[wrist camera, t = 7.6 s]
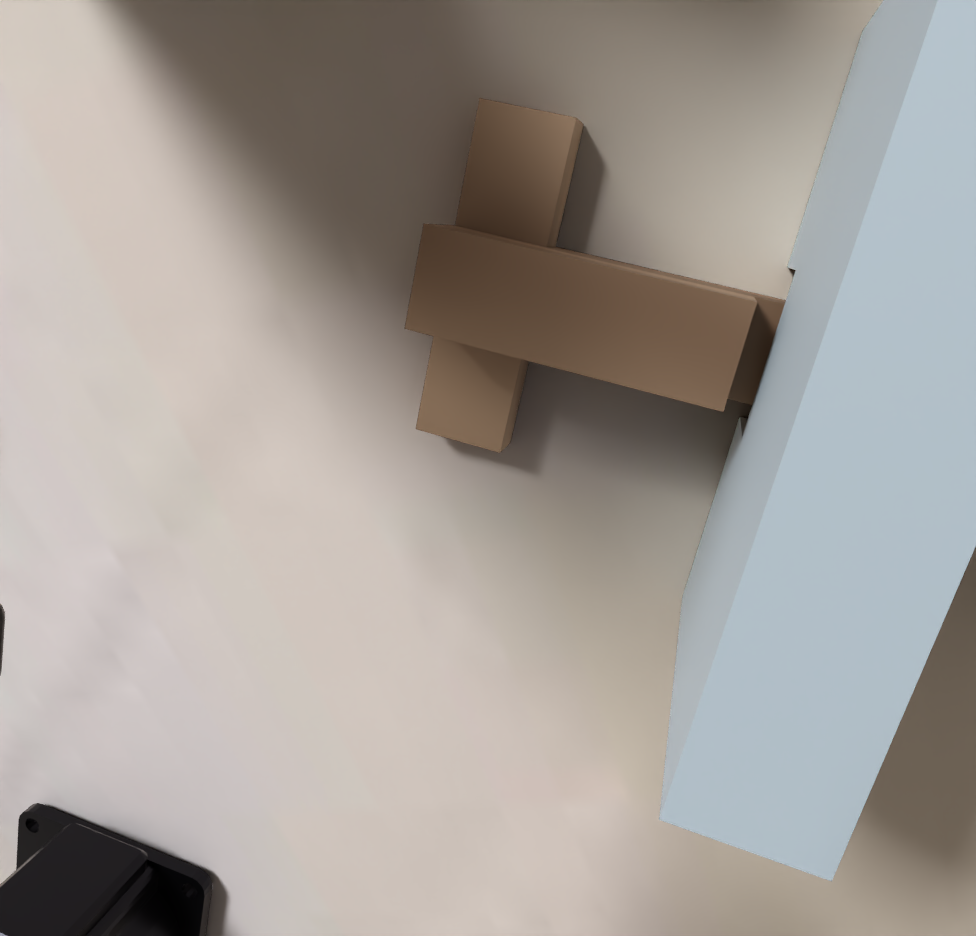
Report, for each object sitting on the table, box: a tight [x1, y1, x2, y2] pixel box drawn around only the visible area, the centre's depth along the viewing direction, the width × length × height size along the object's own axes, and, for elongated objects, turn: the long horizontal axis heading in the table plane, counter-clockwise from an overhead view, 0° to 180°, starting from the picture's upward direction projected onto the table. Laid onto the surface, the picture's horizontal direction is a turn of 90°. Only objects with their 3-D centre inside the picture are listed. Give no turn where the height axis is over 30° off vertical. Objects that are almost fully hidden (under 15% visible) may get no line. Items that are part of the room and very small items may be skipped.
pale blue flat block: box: [659, 0, 976, 881], centre depth 14 cm, size 12×2×8 cm, turn 167°
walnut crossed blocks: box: [405, 98, 786, 453], centre depth 16 cm, size 7×16×3 cm, turn 78°
